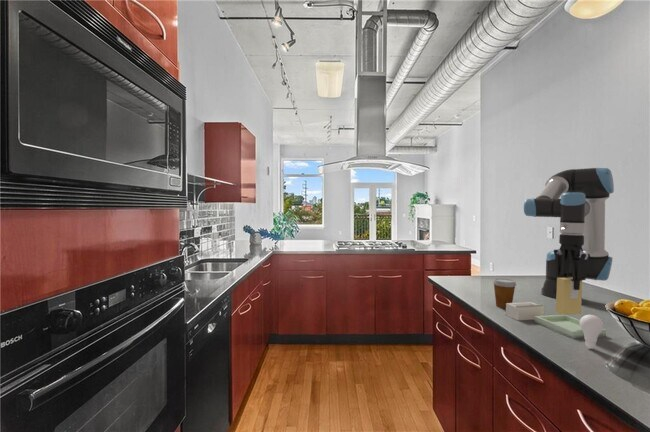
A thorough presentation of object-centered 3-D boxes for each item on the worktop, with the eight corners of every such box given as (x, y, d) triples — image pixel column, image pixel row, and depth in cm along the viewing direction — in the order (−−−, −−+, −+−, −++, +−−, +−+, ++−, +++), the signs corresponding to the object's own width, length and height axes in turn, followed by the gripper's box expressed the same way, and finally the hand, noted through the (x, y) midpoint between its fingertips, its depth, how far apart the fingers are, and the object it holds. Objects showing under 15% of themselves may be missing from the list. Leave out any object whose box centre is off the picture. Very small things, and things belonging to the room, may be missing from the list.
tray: (564, 320, 141) (564, 314, 141) (605, 336, 125) (606, 329, 124) (534, 322, 139) (534, 316, 138) (572, 338, 122) (572, 331, 122)
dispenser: (530, 313, 150) (531, 300, 150) (543, 318, 143) (544, 305, 143) (505, 315, 147) (506, 301, 147) (517, 320, 141) (518, 306, 140)
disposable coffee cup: (518, 310, 155) (519, 283, 154) (495, 308, 157) (496, 281, 156) (511, 304, 164) (512, 278, 164) (489, 302, 166) (490, 277, 165)
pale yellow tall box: (573, 311, 133) (575, 277, 133) (580, 313, 130) (582, 279, 130) (555, 312, 132) (557, 277, 132) (562, 314, 129) (563, 279, 129)
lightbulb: (574, 345, 116) (575, 312, 116) (591, 344, 116) (592, 312, 116) (589, 353, 110) (590, 318, 110) (607, 352, 110) (608, 318, 110)
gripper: (545, 232, 138) (543, 291, 138) (582, 236, 122) (580, 303, 122) (561, 232, 139) (559, 291, 140) (600, 236, 123) (598, 302, 124)
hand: (569, 296), depth 131 cm, fingers closed on pale yellow tall box, 3 cm apart
